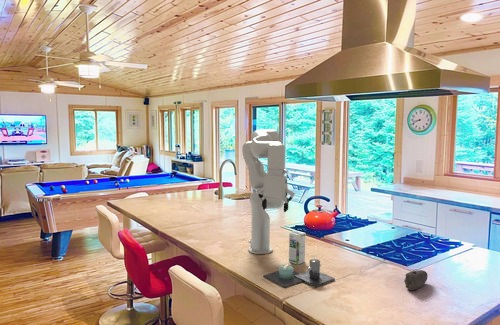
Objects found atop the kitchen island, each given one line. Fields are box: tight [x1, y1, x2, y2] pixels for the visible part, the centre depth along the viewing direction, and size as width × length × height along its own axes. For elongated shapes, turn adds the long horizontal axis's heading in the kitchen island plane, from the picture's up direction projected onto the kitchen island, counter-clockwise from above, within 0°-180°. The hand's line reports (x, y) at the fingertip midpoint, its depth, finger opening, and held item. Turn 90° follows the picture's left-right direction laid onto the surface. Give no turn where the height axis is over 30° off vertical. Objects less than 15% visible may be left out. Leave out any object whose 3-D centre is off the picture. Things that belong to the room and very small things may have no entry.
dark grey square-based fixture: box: [294, 258, 336, 288], centre depth 158 cm, size 12×12×8 cm
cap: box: [278, 263, 294, 280], centre depth 159 cm, size 6×6×5 cm
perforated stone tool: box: [403, 269, 428, 292], centre depth 151 cm, size 15×5×7 cm, turn 126°
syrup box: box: [288, 230, 306, 266], centre depth 178 cm, size 6×6×14 cm
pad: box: [262, 270, 304, 289], centre depth 160 cm, size 14×14×1 cm
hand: (274, 210), depth 165 cm, fingers open, 9 cm apart
